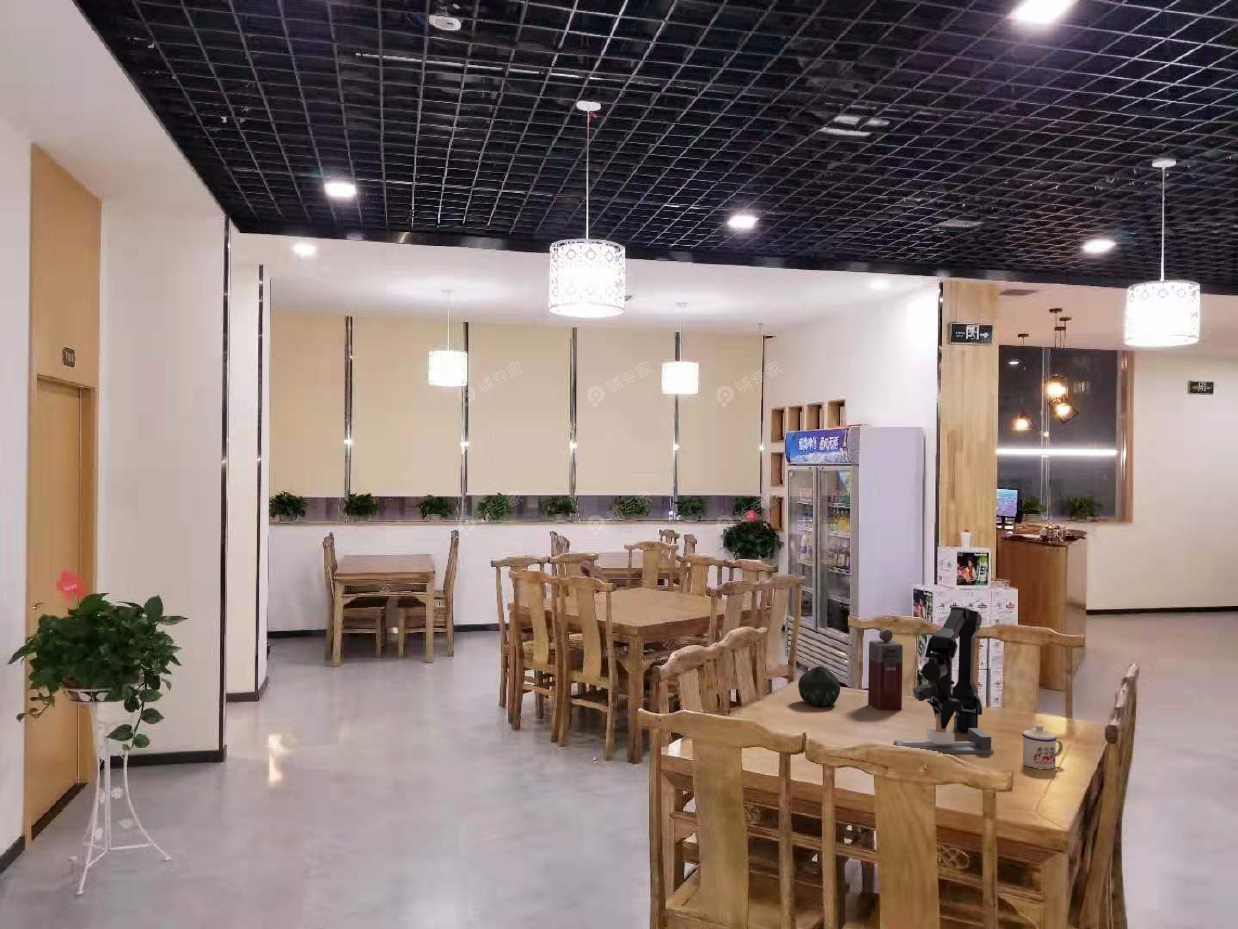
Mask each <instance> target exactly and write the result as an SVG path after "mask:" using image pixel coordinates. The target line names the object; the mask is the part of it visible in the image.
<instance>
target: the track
mask: <svg viewBox="0 0 1238 929" xmlns="http://www.w3.org/2000/svg"><path fill="white" fill-rule="evenodd" d="M893 744H894V745H895V744H897V745H899V746H905V747H910V748H920V749H926V750H932V751H938V752H942V753H941V754H968V755H969V754H971V755H973V754H978V755H979V754H983V755H985V754H988V755H989V754H990V755H991V754H992V755H993V754H994V750H993V749H992V736H990V735H989V734H988V733H986V732H984V731H982V730H981V729H980V728H979V727H978V728H968V733H967V740H955V744H935V743H933V742H932V741H931V740H913V739H912V740H908V739H907V740H905V739H903V740H901V739H900V740H894V741H893Z"/></svg>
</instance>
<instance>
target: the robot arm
mask: <svg viewBox="0 0 1238 929" xmlns="http://www.w3.org/2000/svg"><path fill="white" fill-rule="evenodd" d="M949 612H950V613H949V615H948V617H947V618H946V620H945V622H944V624H943V626H942V627H941V629H938V630H935V632H933V633H932V635H931V636H930V637H929V638H928V643H927V647H926V650H925V654H924V658H927V659H928V661H927V662H926V663H925V664H923V665H922V668H921V674H922V676H923V678H924V679H925V680H926V681H928V683H924V684H921V685H918V686H915V687H912V691H913V692H912V693H913V694H914V698H915V699H916V700H918V701H919V702H923V701H925V700H926V702H927V704H929V706H931V707H932V710H933V715H934V719H935V720H936V713H939V714H940V722H941V728H942V729H946V727H947V728H948V725H949V722H951V719H952V717H953V729H954V730H956V731H957V732H958V733H960V734H968V728H978V729H979V727H978V726H979V716H982V715H983V704H982V702H981V701H982V700H981V699H980V696H979V689H978V688H977V686H976V685H975V683H974V666H975V665H974V664H975V663H974V662H975V660H974V659H975V638H976V635H978V633H979V631H980V628H981V625H982V623H983V622H982V620H983V617H982V615H981V614H980V613H979V611H977V610H973V609H969V608H968V607H967V606H959V605H958V606H955V605H954V606H951V607H950V611H949ZM957 636H958V638H959V639H958V644H957V640H956V639H957ZM957 650H958V670H957V672H958V676H957V682H956V683H955V681H954V680H953V660H954V659H955V656H956V653H957ZM953 685H954V686H953ZM954 714H955V715H954Z"/></svg>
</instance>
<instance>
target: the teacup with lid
mask: <svg viewBox="0 0 1238 929" xmlns="http://www.w3.org/2000/svg"><path fill="white" fill-rule="evenodd" d="M1021 736H1023V737H1022V740H1023V741H1022V763H1023V764H1024V765H1025V766H1026V767H1029V768H1031V767H1033V768H1032V769H1035V768H1041V769H1040V770H1042V769H1049V770H1051V769H1050V768H1053V769H1055V768H1056V757H1059V756H1060V755H1061V754H1062V752H1063V751H1064V750H1063V749H1064V744H1063V742H1062V741H1061V740H1059V739H1057V736H1056V734H1054V733H1052V732H1050V731H1049V730H1048V729H1046V728H1044V725H1042V724H1036V725H1035V727H1032V728H1030V729H1026V730H1024V731H1023V732H1022V735H1021ZM1056 743H1058V750H1057V749H1056V748H1057V746H1056ZM1056 750H1057V751H1056ZM1054 767H1055V768H1054Z"/></svg>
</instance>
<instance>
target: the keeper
mask: <svg viewBox="0 0 1238 929" xmlns="http://www.w3.org/2000/svg"><path fill="white" fill-rule="evenodd" d="M955 738H956V734H955V732H953V731H952V730H950V729H949V728H948V726H947V727H946V729H942V728H941V722H940V714H939V713H936V719H935V727H927V739H928V741H932V742H933V743H935V744H955V741H956V739H955Z"/></svg>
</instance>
